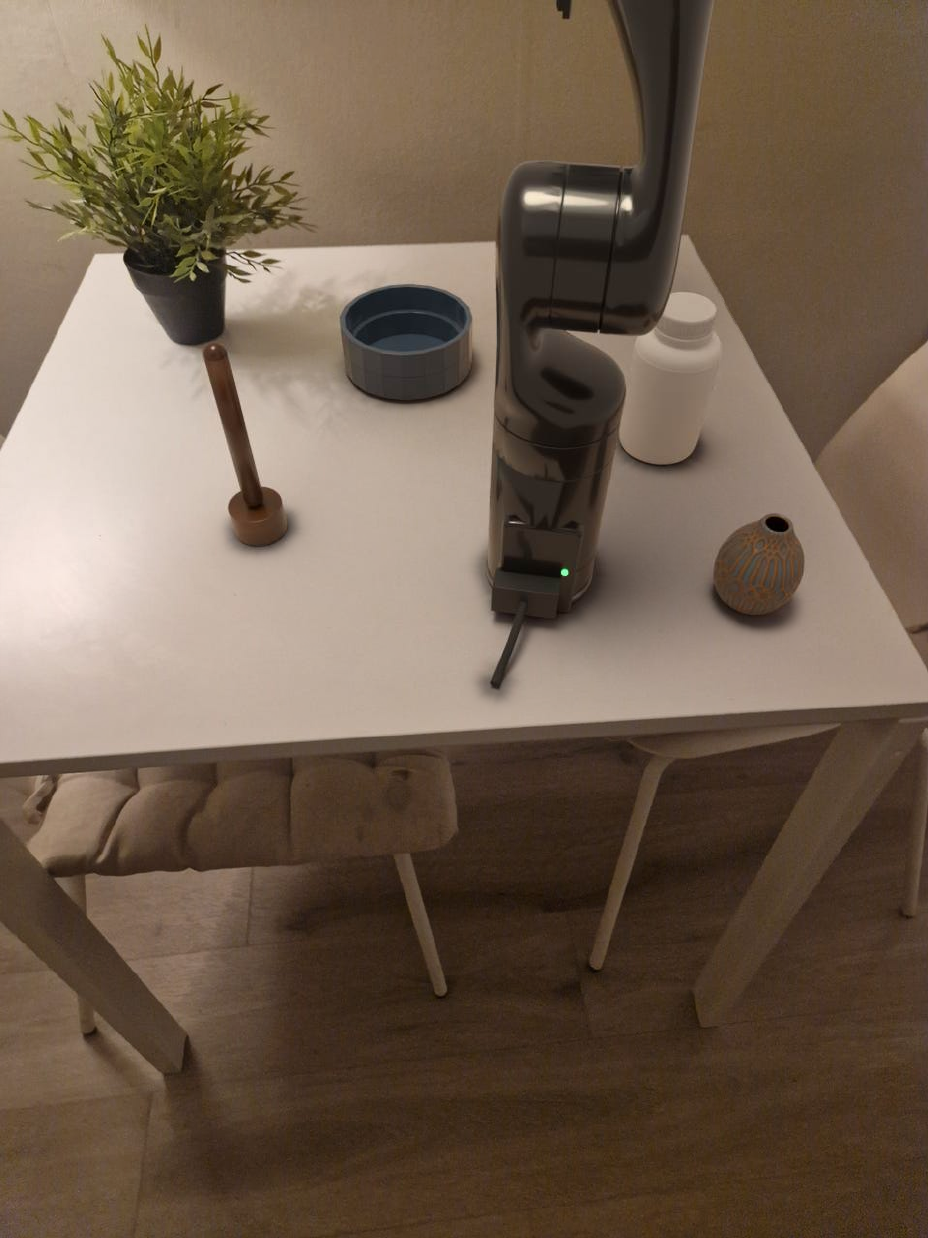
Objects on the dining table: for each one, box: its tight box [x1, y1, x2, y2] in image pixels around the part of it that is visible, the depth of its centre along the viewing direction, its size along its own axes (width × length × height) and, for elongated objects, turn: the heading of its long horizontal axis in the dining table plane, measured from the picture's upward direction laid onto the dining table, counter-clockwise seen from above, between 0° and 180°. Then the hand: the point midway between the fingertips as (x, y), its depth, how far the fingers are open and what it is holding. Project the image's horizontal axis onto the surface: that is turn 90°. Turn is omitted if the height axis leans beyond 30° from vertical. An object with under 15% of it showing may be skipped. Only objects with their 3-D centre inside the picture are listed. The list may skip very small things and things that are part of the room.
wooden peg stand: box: [202, 341, 288, 547], centre depth 66 cm, size 5×5×19 cm
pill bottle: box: [618, 291, 723, 466], centre depth 76 cm, size 8×8×15 cm
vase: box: [713, 512, 806, 616], centre depth 65 cm, size 7×7×9 cm
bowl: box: [339, 283, 473, 401], centre depth 88 cm, size 14×14×6 cm
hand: (611, 19), depth 76 cm, fingers open, 8 cm apart
